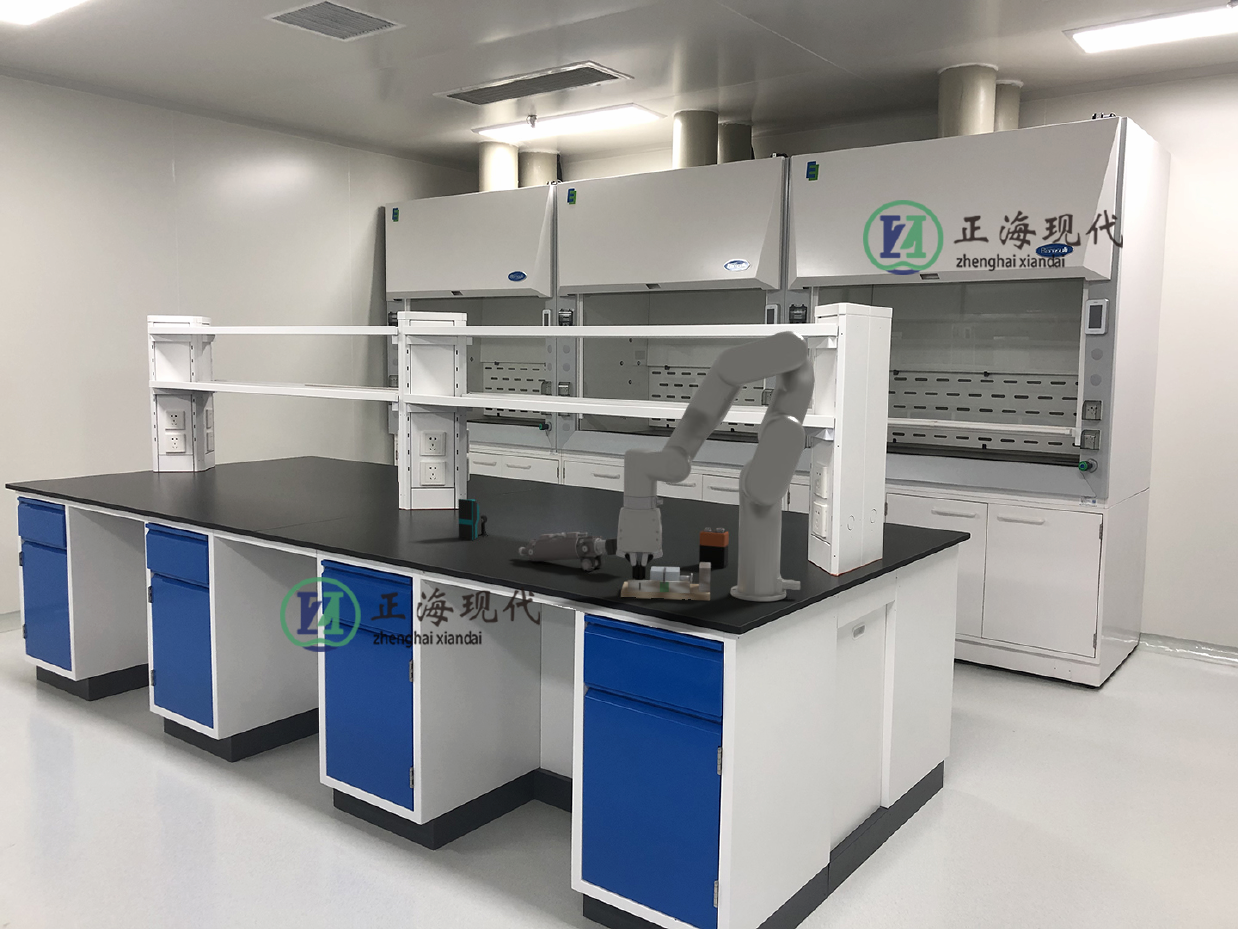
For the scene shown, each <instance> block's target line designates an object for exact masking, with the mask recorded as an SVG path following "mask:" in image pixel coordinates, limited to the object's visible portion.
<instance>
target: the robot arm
mask: <svg viewBox="0 0 1238 929" xmlns="http://www.w3.org/2000/svg"><path fill="white" fill-rule="evenodd" d="M712 363H713V364H712V365H711V367H710V368H709V370H708V372H707V373H706V375H705V377H704V379H702V382H701V383H700V385H699V386H698V388H697V390H696V391H695V393H694V395H693V396H692V398H691V399H690V401H689V403H688V405H687V406H686V409H685V411H684V413H683V414H682V416H681V418H680V419H679V422H678V423H677V425H676V427H675V428H674V429H673V431H672V433H671V434H670V436H669V438H668V440H667V442H666V443H665V445H664V447H663V448H662V450H660V451H655V450H654V449H651V448H642V447H641V448H639V447H638V448H630V449H627V450H626V451H625V453H624V456H623V457H624V458H623V460H624V461H623V506H622V507H621V508H620V510H619V516H618V524H617V551H616V555H615V556H616V557H620V558H624V559H626V560H627V561H628V562H629V563H630V565H631V566H632V571H631V573H632V574H631V576H632V577H631V578H632V579H631V580H646V578H647V576H646V575H647V574H646V570H647V565H648V564H650V562H651V561H652V560H654V559H659V558H662V557H663V555H664V553H663V549H662V548H663V547H662V545H663V529H662V528H663V525H662V524H663V523H662V513H661V509H660V508H659V507H657V506H660V505H664V498H661V497H658V495H657V494H658V482H661V483H662V482H663V483H669V484H677V483H678V484H679V483H682V482H684V481H685V480H687V479H688V477H689V476H690V474H691V472H692V463H693V461H694V459H695V458H696V456H697V454H698V453H699V451H700V449H701V448H702V446H703V445H704V443H705V441H706V440H707V439H708V438H709V436H710V435H712V433H713V432H714V431H715V430H716V429H717V428H718V427H719V426H720V425H721V424H722V423H723V421H724V420H725V419H726V417H727V415H728V413H729V412H730V409H731V408H732V406H733V405H734V403H735V401H736V400H737V398H738V397H739V395H740V393H741V391H742V390H743V388H744V387H745V385H746V384H747V385H748V384H750V383H754V382H758V381H761V380H765V379H768V378H772V377H775V383H774V384H775V385H774V388H773V391H772V394H771V398H770V400H769V402H768V405H767V407H766V411H765V412H764V413H765V414H764V415H763V417H762V421H761V423H760V425H759V427H758V430H757V439H758V444H757V446H756V449H755V451H754V454H753V457H752V459H750V460H748V461H747V462H745V464H744V465H743V466H742V468H741V470H740V472H739V477H738V500H739V501H738V503H739V505H738V506H739V507H738V509H739V511H738V512H739V515H738V516H739V517H738V543H737V544H738V547H737V548H738V549H737V550H738V551H737V552H738V553H737V585H734V586H731V588H730V595H731V596H732V597H734V598H736V599H739V600H744V601H749V602H750V601H751V602H775V601H780V600H783V599H785V598H786V596H787V590H792V591H793V590H796V591H797V590H798V591H800V590H801V581H800V580H799V581H797V580H794V579H784V578H782V575H781V573H780V572H781V547H782V546H781V542H782V541H781V540H782V520H783V519H782V516H783V514H782V511H783V510H782V508H783V507H782V499H783V498H784V497H785V495H786V493H787V492H788V490H789V488H790V485H791V483H792V480H793V477H794V475H795V472H796V470H797V467H798V464H799V462H800V460H801V456H802V454H803V451H804V448H805V445H806V444H805V443H806V430H805V428H804V426H803V424H804V420H805V418H806V415H807V412H808V409H809V406H810V402H811V400H812V397H813V394H814V388H815V379H816V378H815V370H814V366H813V363H812V361H811V358H810V356H809V346H808V343H807V341H806V339H805V338H804V337H803V336H802V335H801V334H799V333H798V332H795V331H792V330H786V331H780V332H777V333H774V334H772V335H769V336H766V337H762V338H760V339H759V338H758V339H757V340H754V341H750V342H746V343H743V344H739V345H734V346H730V347H726V348H724V349H723V350H722V351H720V352H719V354H718V355H717V357H716V358H715V360H714V362H712ZM637 554H642V557H641V561H640V563H639V561H638V559H637Z"/></svg>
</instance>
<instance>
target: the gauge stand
mask: <svg viewBox="0 0 1238 929" xmlns="http://www.w3.org/2000/svg"><path fill="white" fill-rule="evenodd" d="M698 566H699V571H698V574H699V575H698V576H699V577H698V583H692V584H691V581H665V585H664V584H663V581H651V580H650V579H649V580H646V579H643V580H635V579H627V581H624V582H623V584H622V587H621V590H620V598H621V597H636V598H635V599H651V598H664V599H663V600H682V599H685V601H688V599H691V600H690V601H692V600H693V601H711V571H712V570H711V568H712V567H711V563H708V562H700V565H698Z"/></svg>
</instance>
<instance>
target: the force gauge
mask: <svg viewBox="0 0 1238 929" xmlns="http://www.w3.org/2000/svg"><path fill="white" fill-rule="evenodd" d="M650 568H651V569H650V571H649V573H650V574H649V575H650V576H649V578H650V579H649V580H651V581H663V584H664V585H665V581H683V582H690V584H693V578H694V577H693V572H691V573H690V575H680V574H681V573H680V572H681V570H680V568H681V567H679V566H651V567H650Z"/></svg>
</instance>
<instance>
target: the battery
mask: <svg viewBox="0 0 1238 929" xmlns="http://www.w3.org/2000/svg"><path fill="white" fill-rule="evenodd" d="M729 534H730V533H729V531H726V530H725V528H723V527H717V528H715V529H711V527H705V528H704V530H702V531H699V546H698V547H699V548H698V550H699V552H698V554H699V556H698V560H699V561H698V562H699V563H698V566H700V562H708V563H711V568H717V569H723V568H725V567H727V566H728V564H729V540H730V539H729V538H730V537H729Z"/></svg>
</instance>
